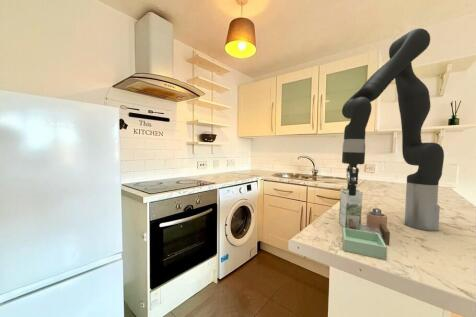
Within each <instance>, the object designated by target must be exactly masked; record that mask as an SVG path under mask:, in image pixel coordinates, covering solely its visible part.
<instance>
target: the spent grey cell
mask: <svg viewBox="0 0 476 317" xmlns="http://www.w3.org/2000/svg"><path fill="white" fill-rule="evenodd" d="M371 212H372V215H374V216H381V213H382V209H381V208H378V207H375V208H373V207H372V211H371Z"/></svg>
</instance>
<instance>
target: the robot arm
mask: <svg viewBox="0 0 476 317" xmlns="http://www.w3.org/2000/svg"><path fill="white" fill-rule="evenodd" d="M430 44H431V34H430V32H428V30H427V29H424V28H415V29H413V30H412V29H411V31H408V32H407V33H405V34H403V35H402V36H401V37H399V38H398V39H396V40H394V41H393V42H392V43H391V45H390V46H389V50H388V56H389V60H388V61H386V62H385V63H384V64H383V65H382V66H381V67H380V68H379V69H377V70H376V71H375V72H374V73H373V74H372V75H371V76H370V77H369V78H368V79H367V80H366V81H365V83H364V84H363V85H362V86H361V88H360V89H359V90H358V91H356V92H355V93H354V94H353V95H352V96H351V97H349V99H347V101H346V102H345V103H344V104H343V106H342V109H341V113H342V116H343V117H344V118H345V119H348V120H350V121H349V123H348V124H347V125H345V127H344V130H343V131H344V133H343V134H344V135H343V143H342V151H341V153H342V154H341V164H345V165H347V167H346V169H345V172H346V181H347V188H346V189H349V195H352V196H355V195H356V190H357V186H358V183H359V182H358V181H359V172H360V169H359V167H358V165H364V164H365V157H366V128H367V126H368V123H369V119H370V116H371V114H372V102H374V101H375V100H377V99H378V98H379V97H380V96H381V95H382V93H383V92H384V91H385V90H386V89H387V88H388V86H389V85H390V84H391V83H392V82H394V81H395V87H396V93H397V101H398V111H399V116H400V123H401V124H400V125H401V136H402V138H401V143H402V144H401V146H402V147H401V149H402V158H403V159H404V160H403V161H405V163H406V164H408V165H409V166H410V165H411V166H416V167H417V166H418V168H417V170H416V172H414V173H411V174H408V175H407V176H406V186H405V187H406V188H405V206H404V207H405V208H404V225H406V226H408V227H410V228H414V229H417V230H423V231H438V232H439V228H440V210H441V206H440V205H439V204H438V201H439V200H438V198H439V196H438V195H439V182H440V180H441V178H442V175H443V169H444V159H445V153H444V152H445V151H444V148H443V147H442V145H441V144H439V143H438V142H422V141H423V140H422V128H423V125H424V123H425V121H426V119H427V117H428V115H429V113H430V112H431V97H430V91H429V88H428V87H427V85H426V84H425V83H424V82H423V81H422V80H421V79H420V78H419V77H417V75H416V74H415V72H414V69H413V64H412V63H413V61H414V60H416V59H417V58H418V57H419V56H420V55H421V54H423V53H424V52H425V51H426V50H427V49H428V47H429V45H430Z"/></svg>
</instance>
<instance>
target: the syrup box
mask: <svg viewBox="0 0 476 317" xmlns="http://www.w3.org/2000/svg"><path fill="white" fill-rule="evenodd" d="M339 195H340V196H339V198H340V199H339V212H338V214H339V215H338V217H339V218H338V224H339V225H340V226H342V228H348V225H349V219H352V220H353V223H354V228H355V223H357V224H362V208H363V192H362V191H361V190H359V189H356V195H355V196H352V195H349V189H347V188H340V194H339Z"/></svg>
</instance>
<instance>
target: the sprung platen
mask: <svg viewBox="0 0 476 317" xmlns="http://www.w3.org/2000/svg"><path fill="white" fill-rule="evenodd" d="M355 229H356V230H361V231H367V232H373V233H379V234H380V236H381V237H382V233H381V231H380V230H379V228H378V227H376V226H370V225H366V224H362V223H361V224H357V223H355Z"/></svg>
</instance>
